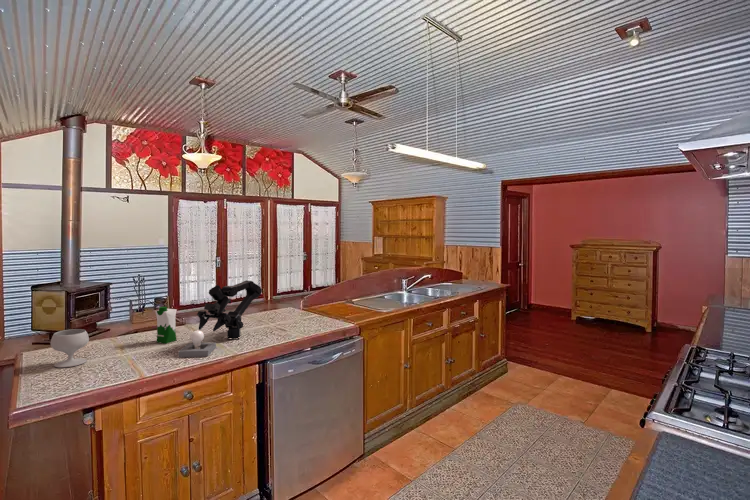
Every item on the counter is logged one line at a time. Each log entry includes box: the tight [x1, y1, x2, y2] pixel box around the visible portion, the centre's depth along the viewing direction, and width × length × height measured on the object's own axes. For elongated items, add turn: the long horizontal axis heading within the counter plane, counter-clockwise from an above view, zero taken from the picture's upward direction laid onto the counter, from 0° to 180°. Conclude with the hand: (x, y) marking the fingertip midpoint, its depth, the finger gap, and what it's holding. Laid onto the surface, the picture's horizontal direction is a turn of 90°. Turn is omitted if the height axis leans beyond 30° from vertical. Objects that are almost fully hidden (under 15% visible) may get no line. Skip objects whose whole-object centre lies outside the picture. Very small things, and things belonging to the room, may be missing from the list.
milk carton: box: [154, 306, 178, 345], centre depth 216 cm, size 9×9×20 cm
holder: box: [177, 342, 217, 358], centre depth 197 cm, size 14×14×3 cm
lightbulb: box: [190, 329, 205, 349], centre depth 197 cm, size 6×6×11 cm
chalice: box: [50, 328, 90, 368], centre depth 179 cm, size 14×14×15 cm
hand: (206, 330), depth 203 cm, fingers open, 9 cm apart
